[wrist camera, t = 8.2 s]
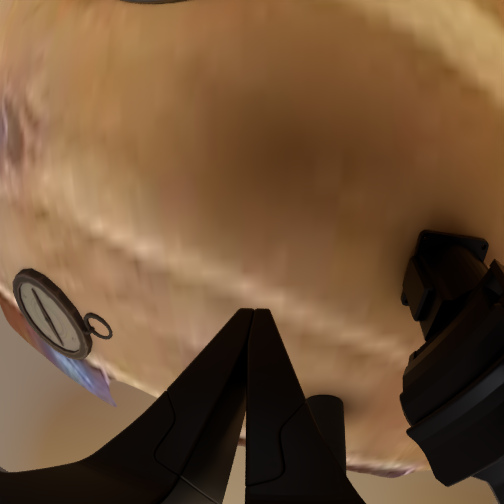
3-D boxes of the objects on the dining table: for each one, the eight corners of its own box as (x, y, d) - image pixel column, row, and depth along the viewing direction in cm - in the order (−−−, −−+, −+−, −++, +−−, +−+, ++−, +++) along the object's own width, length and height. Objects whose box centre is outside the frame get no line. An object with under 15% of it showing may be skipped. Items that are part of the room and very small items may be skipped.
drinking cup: (281, 409, 32) (245, 555, 15) (309, 381, 28) (276, 562, 11) (333, 423, 32) (313, 561, 15) (367, 397, 28) (356, 562, 11)
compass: (25, 314, 39) (19, 320, 38) (12, 245, 31) (3, 252, 29) (111, 377, 40) (105, 386, 38) (116, 321, 32) (107, 331, 30)
